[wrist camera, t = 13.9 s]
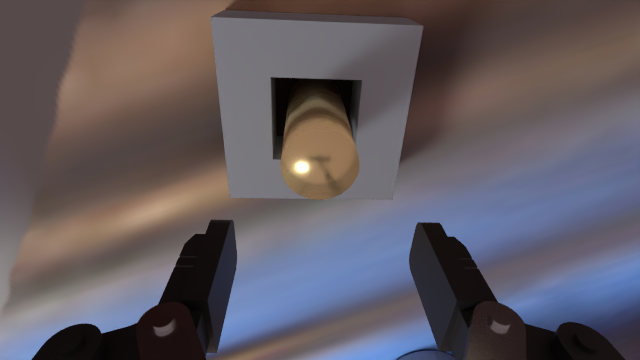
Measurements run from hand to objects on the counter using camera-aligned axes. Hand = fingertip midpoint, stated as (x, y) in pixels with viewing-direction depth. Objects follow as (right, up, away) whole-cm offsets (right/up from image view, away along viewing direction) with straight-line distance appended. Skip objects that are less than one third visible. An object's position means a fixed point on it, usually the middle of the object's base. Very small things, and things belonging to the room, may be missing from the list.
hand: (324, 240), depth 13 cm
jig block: (-1, +8, +13) cm, 16 cm away
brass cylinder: (-1, +8, +13) cm, 16 cm away
